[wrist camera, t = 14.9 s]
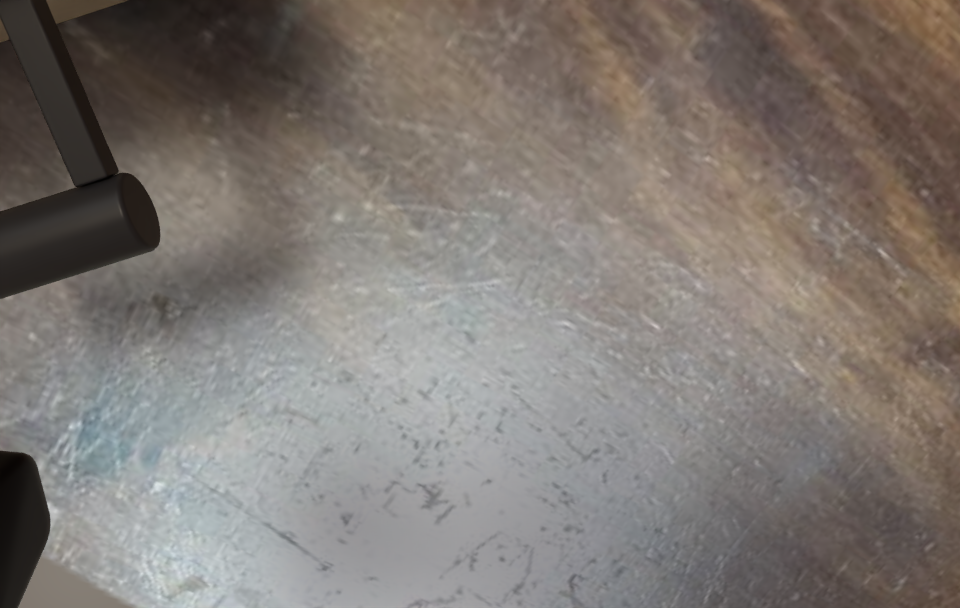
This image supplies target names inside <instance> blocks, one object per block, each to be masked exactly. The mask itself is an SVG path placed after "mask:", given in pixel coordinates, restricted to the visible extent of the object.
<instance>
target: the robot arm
mask: <svg viewBox="0 0 960 608" xmlns="http://www.w3.org/2000/svg"><path fill="white" fill-rule="evenodd" d="M49 533H50V513H49V509H48V506H47V502H46V498H45V494H44V490H43V487H42V483H41V479H40V475H39V471H38V468H37V465H36V462H35V461H34V459H33V458H32V457H31V456H30V455H27V454H25V453H19V452H9V451H0V608H18V607H19V605H20V602H21V600H22V598H23V595H24V593H25V591H26V589H27V586H28V584H29V581H30V579H31V577H32V575H33V573H34V570H35V568H36V566H37V563H38V561H39V559H40V557H41V554H42V552H43V550H44V548H45V545H46V543H47V540H48V536H49Z"/></svg>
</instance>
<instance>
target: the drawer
mask: <svg viewBox="0 0 960 608" xmlns="http://www.w3.org/2000/svg"><path fill="white" fill-rule="evenodd" d="M125 1H128V0H0V43H1V42H4V41H7V40H10V41H11V43H12V46H13V48H14V50H15V52H16V55H17V57H18V59H19V61H20V64H21V66H22V68H23V71H24V73H25V75H26V77H27V80H28V82H29V84H30V86H31V89H32V91H33V93H34V95H35V98H36V100H37V102H38V104H39V107H40V109H41V111H42V113H43V116H44V118H45V120H46V122H47V125H48V127H49V129H50V131H51V134H52V136H53V138H54V140H55V143H56V145H57V147H58V149H59V152H60V154H61V156H62V158H63V161H64V163H65V165H66V167H67V170H68V172H69V174H70V176H71V179H72V181H73V183H74V185H75V186H76V188H72V189H69V190H66V191H63V192H60V193H57V194H54V195H51V196H48V197H44V198H41V199H38V200H35V201H32V202H29V203H26V204H23V205H19V206H16V207H13V208H10V209H7V210H4V211H1V212H0V299H2V298H5V297H8V296H11V295H14V294H17V293H21V292H24V291H27V290H30V289H33V288H37V287H40V286H43V285H46V284H49V283H52V282H56V281H59V280H62V279H65V278H68V277H71V276H75V275H78V274H81V273H84V272H87V271H90V270H94V269H97V268H100V267H103V266H106V265H109V264H113V263H116V262H119V261H122V260H125V259H128V258H132V257H135V256H138V255H141V254H144V253H147V252H151V251H153V250H154V249H155V248H157V247H158V245H159V242H160V226H159V221H158V217H157V213H156V210H155V207H154V205H153V203H152V200H151V198H150V196H149V195H148V193H147V191H146V190H145V188H144V187H143V185H142V184H141V183H140V181H139V180H138V179H137V178H136V177H134V176H133V175H131V174H129V173H119V174H117V173H118V172H119V171H118V168H117V165H116V163H115V161H114V158H113V156H112V154H111V151H110V149H109V147H108V144H107V142H106V140H105V137H104V135H103V133H102V130H101V128H100V126H99V123H98V121H97V119H96V116H95V114H94V112H93V109H92V107H91V105H90V102H89V100H88V97H87V95H86V93H85V90H84V88H83V86H82V83H81V81H80V79H79V76H78V74H77V72H76V69H75V67H74V65H73V62H72V60H71V58H70V55H69V53H68V51H67V48H66V46H65V44H64V41H63V39H62V37H61V34H60V32H59V30H58V27H57V25H56V24H58V23H61V22H64V21H67V20H70V19H73V18H76V17H80V16H83V15H86V14H89V13H92V12H95V11H98V10H101V9H104V8H107V7H110V6H113V5H116V4H119V3H122V2H125ZM115 174H116V175H115Z"/></svg>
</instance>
